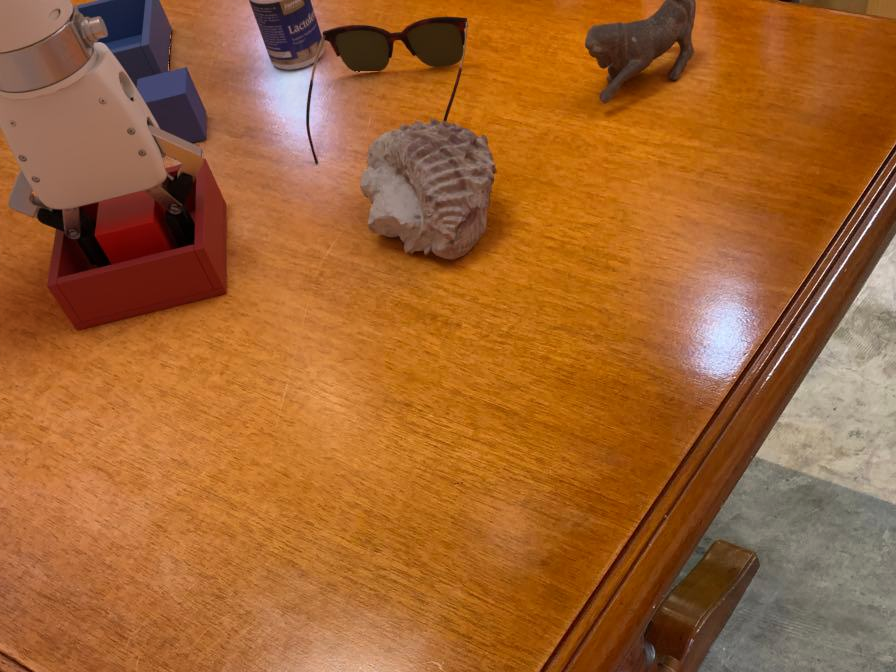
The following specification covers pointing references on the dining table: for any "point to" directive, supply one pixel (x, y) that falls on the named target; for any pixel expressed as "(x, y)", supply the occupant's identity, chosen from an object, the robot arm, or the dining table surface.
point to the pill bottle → (288, 31)
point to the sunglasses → (374, 47)
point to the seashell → (430, 187)
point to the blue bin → (134, 34)
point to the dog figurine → (642, 43)
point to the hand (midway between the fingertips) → (149, 255)
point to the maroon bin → (145, 267)
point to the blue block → (175, 104)
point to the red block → (132, 227)
